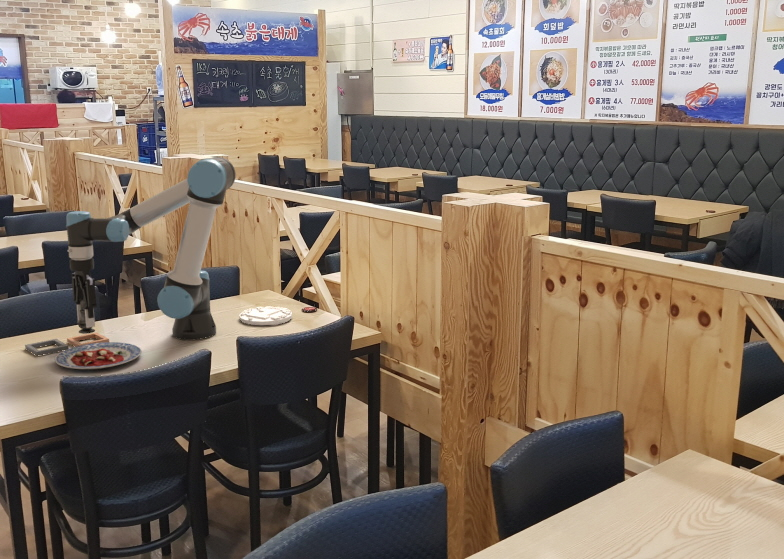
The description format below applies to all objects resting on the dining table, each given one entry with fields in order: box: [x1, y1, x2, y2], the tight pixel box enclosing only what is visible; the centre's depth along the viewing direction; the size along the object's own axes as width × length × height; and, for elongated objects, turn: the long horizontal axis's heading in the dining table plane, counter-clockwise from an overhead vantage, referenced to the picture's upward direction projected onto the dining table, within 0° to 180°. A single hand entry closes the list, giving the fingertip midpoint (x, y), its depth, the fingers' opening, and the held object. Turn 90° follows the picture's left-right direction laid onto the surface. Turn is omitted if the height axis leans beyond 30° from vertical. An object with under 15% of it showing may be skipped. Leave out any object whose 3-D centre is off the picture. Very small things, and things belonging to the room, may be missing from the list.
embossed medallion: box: [238, 305, 293, 326], centre depth 291 cm, size 20×20×3 cm
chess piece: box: [76, 298, 96, 335], centre depth 258 cm, size 6×6×12 cm
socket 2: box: [66, 332, 110, 347], centre depth 260 cm, size 10×10×2 cm
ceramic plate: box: [54, 341, 142, 370], centre depth 243 cm, size 26×26×3 cm
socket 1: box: [24, 338, 70, 357], centre depth 253 cm, size 10×10×2 cm
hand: (86, 324), depth 259 cm, fingers closed on chess piece, 6 cm apart
